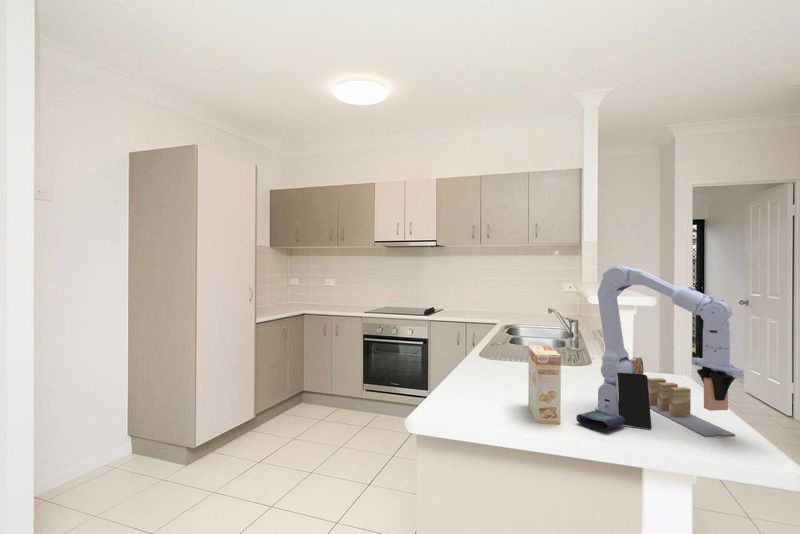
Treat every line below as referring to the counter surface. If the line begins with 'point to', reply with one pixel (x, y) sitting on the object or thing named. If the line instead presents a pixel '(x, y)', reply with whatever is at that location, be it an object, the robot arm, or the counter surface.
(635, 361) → the tin
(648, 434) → the counter surface
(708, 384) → the domino
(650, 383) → the domino
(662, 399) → the domino
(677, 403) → the domino
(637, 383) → the smartphone
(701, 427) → the mat
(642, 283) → the robot arm
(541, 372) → the coffeecake box
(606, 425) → the navy pouch
